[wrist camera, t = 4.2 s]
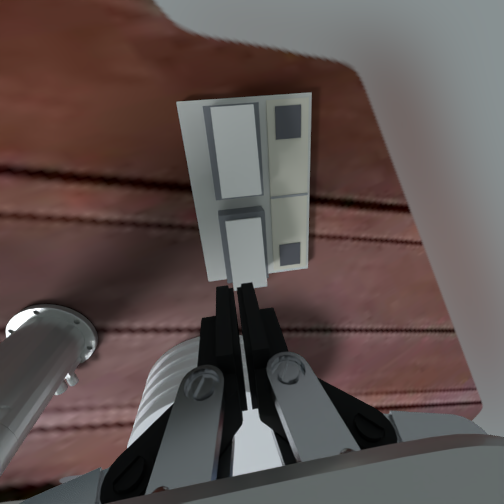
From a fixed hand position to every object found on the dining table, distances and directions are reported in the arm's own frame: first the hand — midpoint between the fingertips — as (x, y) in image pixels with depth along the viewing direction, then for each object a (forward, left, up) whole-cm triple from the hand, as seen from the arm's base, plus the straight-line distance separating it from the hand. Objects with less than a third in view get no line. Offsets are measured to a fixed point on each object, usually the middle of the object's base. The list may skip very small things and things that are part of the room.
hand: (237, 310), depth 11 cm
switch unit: (0, -4, -25) cm, 25 cm away
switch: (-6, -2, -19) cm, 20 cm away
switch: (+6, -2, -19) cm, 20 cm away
